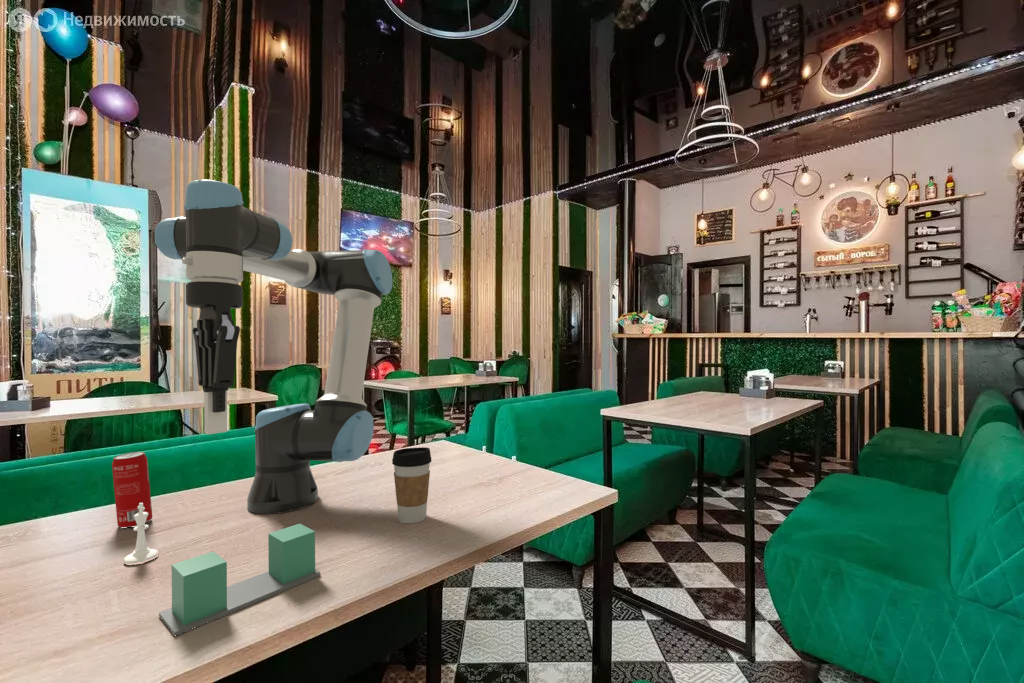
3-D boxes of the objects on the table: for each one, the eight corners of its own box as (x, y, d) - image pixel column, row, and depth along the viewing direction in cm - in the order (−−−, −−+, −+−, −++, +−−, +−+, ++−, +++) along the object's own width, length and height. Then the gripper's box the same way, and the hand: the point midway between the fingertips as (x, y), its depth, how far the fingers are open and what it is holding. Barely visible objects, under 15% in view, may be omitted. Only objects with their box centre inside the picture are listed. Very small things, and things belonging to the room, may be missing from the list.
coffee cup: (422, 527, 95) (422, 455, 95) (385, 524, 96) (384, 453, 96) (437, 512, 103) (437, 446, 103) (402, 509, 104) (402, 444, 104)
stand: (159, 616, 64) (158, 565, 64) (299, 562, 80) (299, 521, 80) (174, 636, 60) (174, 582, 60) (320, 575, 75) (320, 531, 75)
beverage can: (158, 521, 99) (157, 451, 99) (122, 532, 93) (121, 458, 93) (142, 516, 101) (142, 449, 101) (106, 527, 95) (106, 455, 95)
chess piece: (129, 568, 78) (129, 510, 78) (118, 561, 81) (118, 504, 81) (163, 557, 82) (163, 501, 82) (151, 550, 85) (151, 496, 85)
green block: (171, 611, 65) (171, 564, 65) (213, 595, 69) (213, 551, 69) (183, 625, 61) (183, 576, 61) (226, 607, 65) (226, 561, 65)
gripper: (173, 283, 73) (174, 431, 73) (202, 276, 65) (203, 442, 65) (225, 287, 79) (226, 424, 79) (258, 281, 71) (258, 433, 71)
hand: (215, 432), depth 72 cm, fingers closed
